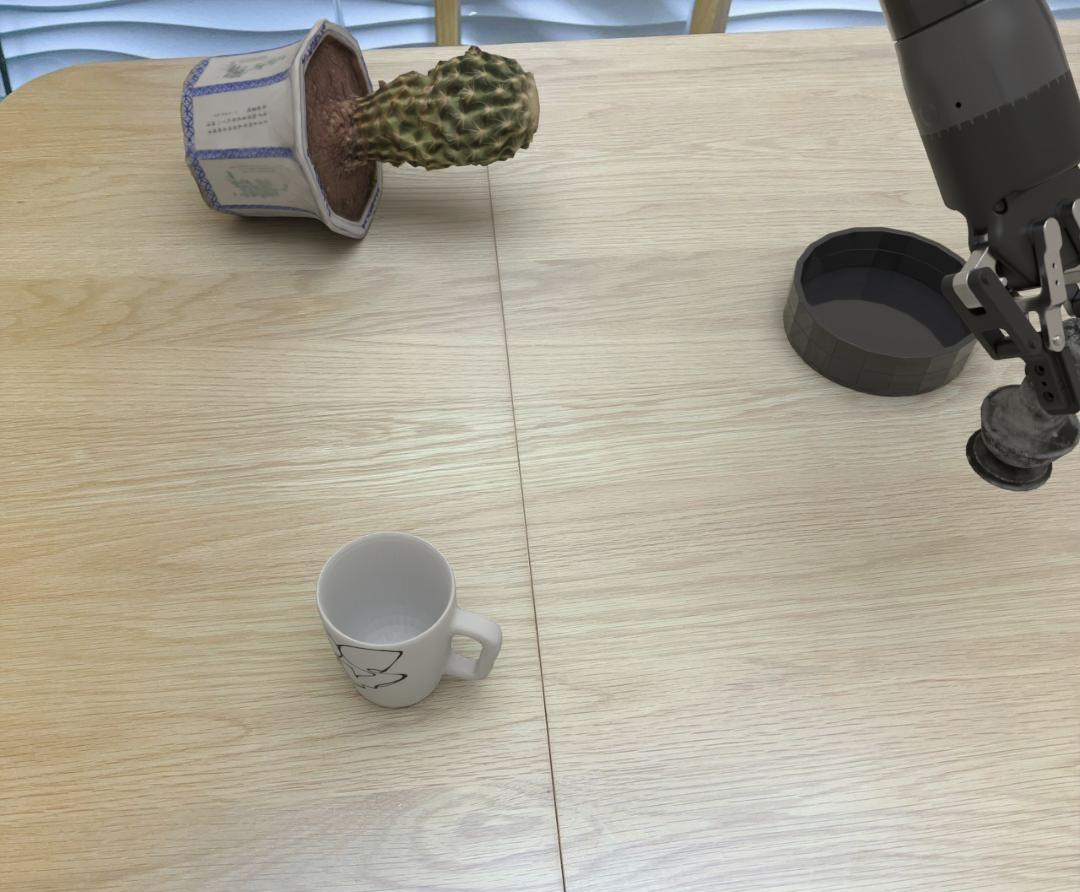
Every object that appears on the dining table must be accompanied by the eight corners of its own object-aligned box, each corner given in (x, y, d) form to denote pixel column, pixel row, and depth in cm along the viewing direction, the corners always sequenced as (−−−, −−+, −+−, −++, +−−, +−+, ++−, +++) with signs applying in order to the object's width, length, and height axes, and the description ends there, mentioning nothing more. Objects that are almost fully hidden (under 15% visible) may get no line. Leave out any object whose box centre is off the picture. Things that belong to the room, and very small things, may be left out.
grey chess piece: (954, 418, 70) (1028, 273, 60) (1047, 426, 70) (1136, 281, 60) (967, 491, 66) (1047, 349, 57) (1065, 499, 66) (1162, 358, 57)
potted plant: (130, 112, 86) (499, 57, 79) (200, 5, 97) (528, -51, 90) (224, 291, 99) (547, 258, 92) (276, 179, 110) (567, 141, 103)
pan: (865, 243, 102) (879, 203, 98) (1008, 340, 95) (1029, 301, 91) (744, 316, 96) (754, 276, 92) (888, 426, 88) (904, 387, 85)
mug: (516, 638, 76) (518, 555, 68) (485, 747, 71) (483, 672, 63) (358, 604, 77) (342, 518, 69) (316, 708, 72) (294, 630, 64)
